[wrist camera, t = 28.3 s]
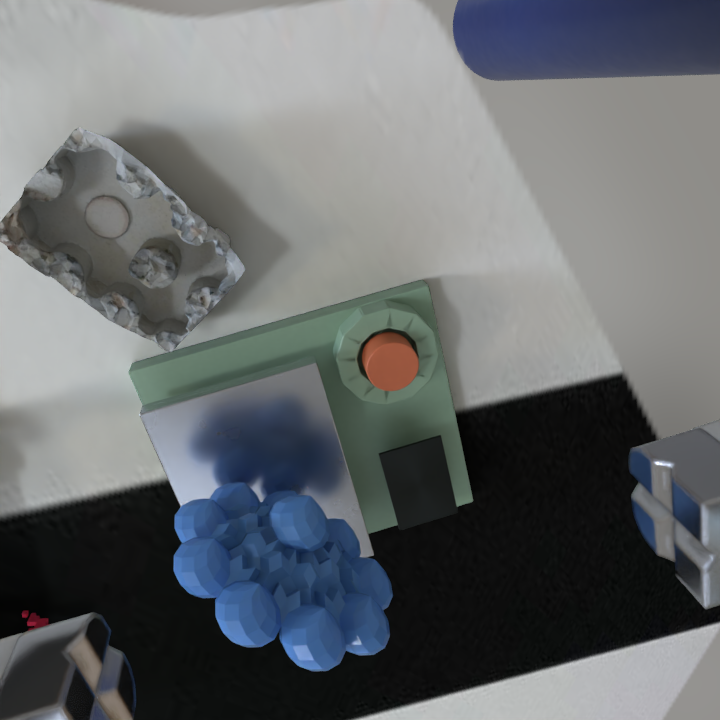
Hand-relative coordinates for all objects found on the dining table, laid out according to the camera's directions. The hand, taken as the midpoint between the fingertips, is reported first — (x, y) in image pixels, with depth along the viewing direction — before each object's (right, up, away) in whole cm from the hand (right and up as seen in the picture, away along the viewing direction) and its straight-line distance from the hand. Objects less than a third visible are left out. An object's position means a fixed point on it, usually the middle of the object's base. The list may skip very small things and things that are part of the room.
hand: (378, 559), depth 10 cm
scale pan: (-3, -3, +30) cm, 30 cm away
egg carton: (-13, +10, +26) cm, 30 cm away
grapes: (-5, -4, +29) cm, 29 cm away
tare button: (+1, +3, +28) cm, 28 cm away
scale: (-3, -2, +32) cm, 32 cm away
